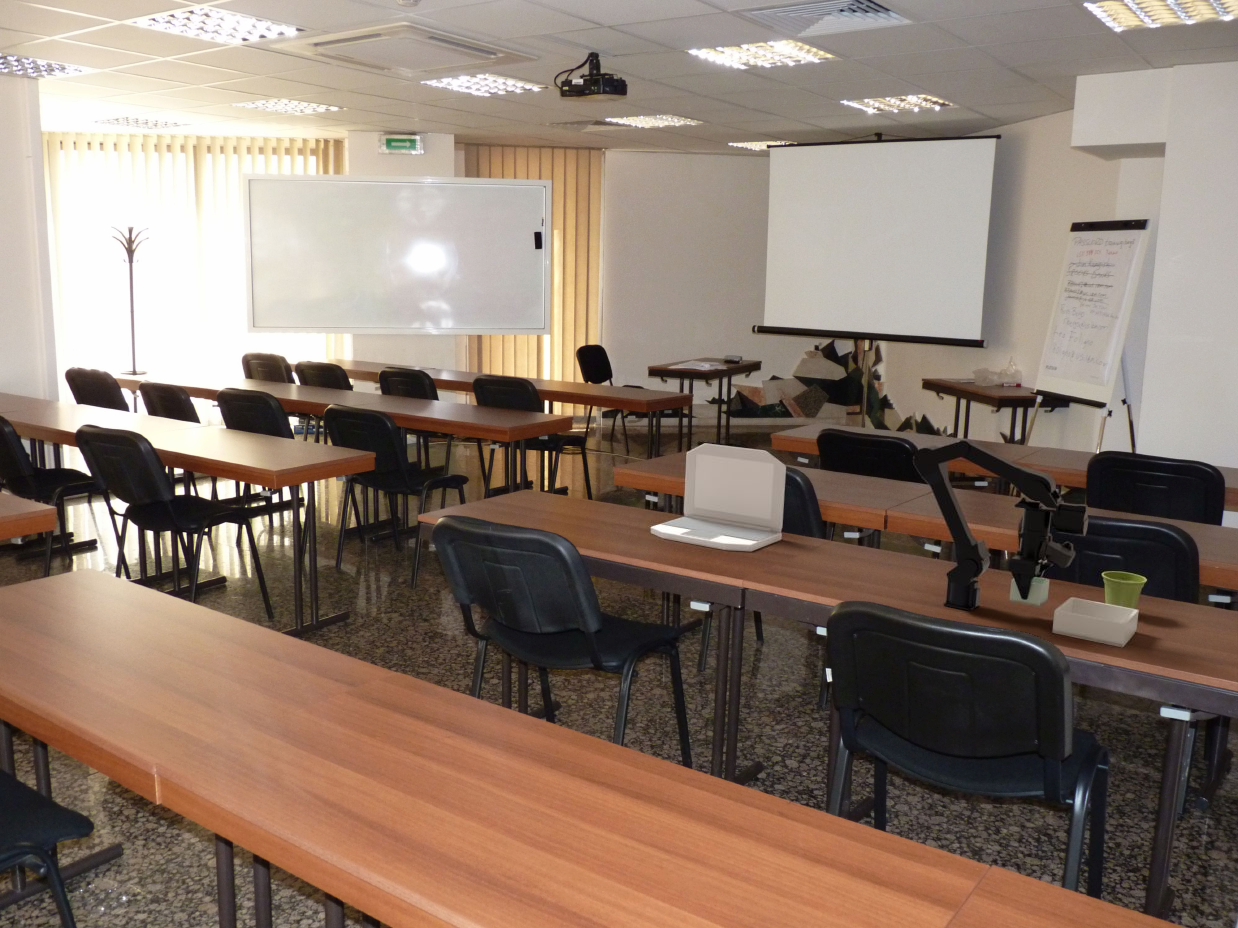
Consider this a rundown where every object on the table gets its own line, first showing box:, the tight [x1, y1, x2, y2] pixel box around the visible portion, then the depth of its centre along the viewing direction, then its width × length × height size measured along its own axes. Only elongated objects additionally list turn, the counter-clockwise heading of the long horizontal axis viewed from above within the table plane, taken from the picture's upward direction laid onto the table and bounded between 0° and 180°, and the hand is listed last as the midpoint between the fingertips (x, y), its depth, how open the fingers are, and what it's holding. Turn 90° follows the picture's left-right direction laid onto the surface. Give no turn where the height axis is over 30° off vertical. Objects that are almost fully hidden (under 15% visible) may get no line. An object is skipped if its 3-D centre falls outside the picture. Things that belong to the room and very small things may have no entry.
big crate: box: [1051, 597, 1139, 648], centre depth 218 cm, size 14×14×5 cm
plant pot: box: [1101, 570, 1148, 610], centre depth 234 cm, size 9×9×9 cm
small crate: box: [1008, 577, 1050, 608], centre depth 226 cm, size 6×6×5 cm
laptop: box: [650, 442, 787, 552], centre depth 295 cm, size 33×24×26 cm
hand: (1028, 596), depth 226 cm, fingers closed on small crate, 6 cm apart
